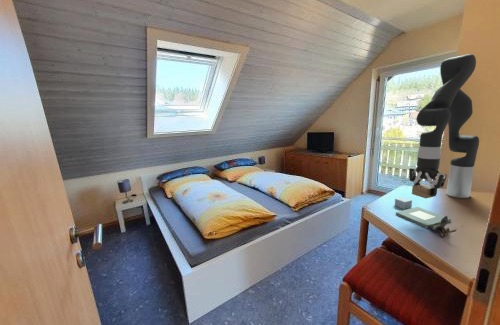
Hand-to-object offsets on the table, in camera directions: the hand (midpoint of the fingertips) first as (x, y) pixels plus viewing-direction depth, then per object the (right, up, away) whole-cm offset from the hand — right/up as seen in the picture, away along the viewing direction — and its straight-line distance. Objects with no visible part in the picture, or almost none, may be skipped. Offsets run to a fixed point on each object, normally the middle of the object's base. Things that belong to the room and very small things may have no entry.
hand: (424, 193), depth 96 cm
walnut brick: (0, -1, 0) cm, 1 cm away
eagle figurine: (-2, -15, -10) cm, 18 cm away
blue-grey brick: (+1, -9, +15) cm, 17 cm away
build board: (+1, -12, +2) cm, 12 cm away
